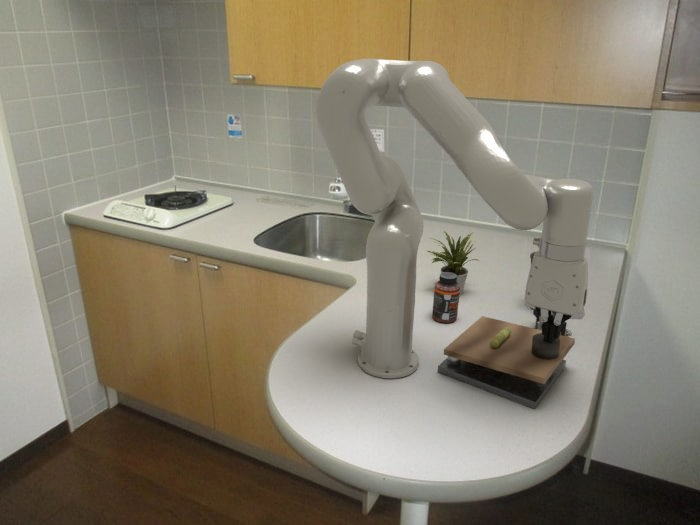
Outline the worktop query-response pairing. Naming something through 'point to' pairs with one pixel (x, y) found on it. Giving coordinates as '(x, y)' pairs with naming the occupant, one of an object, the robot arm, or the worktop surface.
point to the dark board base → (499, 381)
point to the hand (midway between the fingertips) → (550, 339)
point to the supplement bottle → (446, 298)
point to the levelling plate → (510, 349)
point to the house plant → (455, 258)
